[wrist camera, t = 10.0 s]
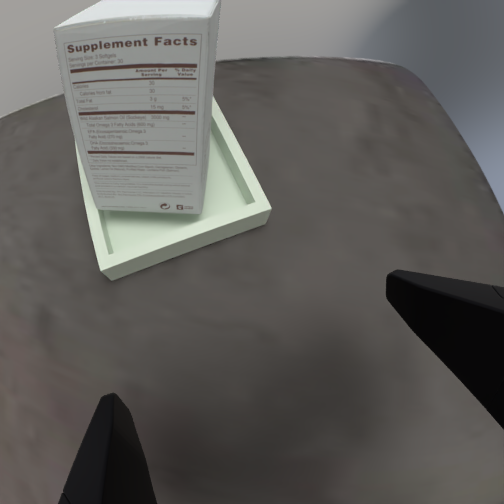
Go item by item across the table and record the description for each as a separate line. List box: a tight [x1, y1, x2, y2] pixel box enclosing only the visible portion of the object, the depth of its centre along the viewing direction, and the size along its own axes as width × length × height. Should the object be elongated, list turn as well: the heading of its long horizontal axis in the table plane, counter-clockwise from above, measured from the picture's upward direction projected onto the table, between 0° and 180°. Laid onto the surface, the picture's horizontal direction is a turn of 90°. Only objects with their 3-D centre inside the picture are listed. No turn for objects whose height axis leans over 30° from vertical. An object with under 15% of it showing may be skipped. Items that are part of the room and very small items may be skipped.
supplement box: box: [54, 0, 221, 214], centre depth 16 cm, size 7×7×13 cm
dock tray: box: [75, 97, 272, 281], centre depth 22 cm, size 12×12×2 cm
